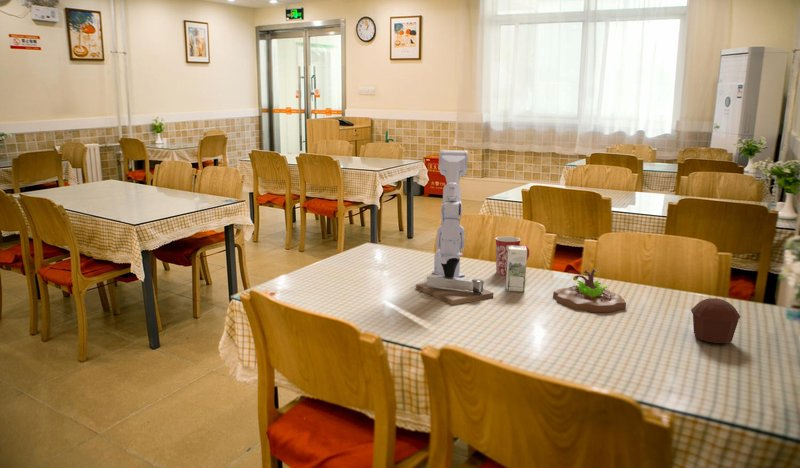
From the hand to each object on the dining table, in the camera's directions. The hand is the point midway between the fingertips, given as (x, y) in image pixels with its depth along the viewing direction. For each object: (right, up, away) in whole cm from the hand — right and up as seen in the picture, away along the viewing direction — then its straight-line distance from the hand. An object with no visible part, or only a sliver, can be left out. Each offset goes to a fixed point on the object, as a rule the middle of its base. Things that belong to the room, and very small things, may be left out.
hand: (449, 280), depth 187 cm
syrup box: (+22, -4, +5) cm, 23 cm away
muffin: (+66, -12, -36) cm, 76 cm away
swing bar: (+2, -2, -3) cm, 4 cm away
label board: (+2, -4, 0) cm, 4 cm away
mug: (+24, 0, +22) cm, 33 cm away
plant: (+43, -7, -7) cm, 44 cm away
